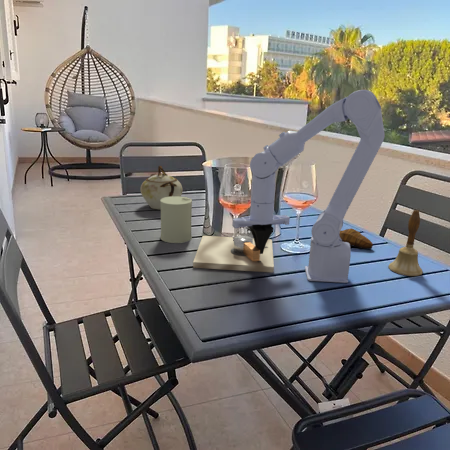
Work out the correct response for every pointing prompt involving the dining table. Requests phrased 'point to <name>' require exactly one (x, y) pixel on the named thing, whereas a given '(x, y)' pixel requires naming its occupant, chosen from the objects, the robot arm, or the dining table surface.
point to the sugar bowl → (160, 188)
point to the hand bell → (408, 251)
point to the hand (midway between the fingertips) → (259, 252)
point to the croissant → (355, 239)
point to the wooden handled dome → (246, 247)
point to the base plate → (230, 256)
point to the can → (176, 219)
